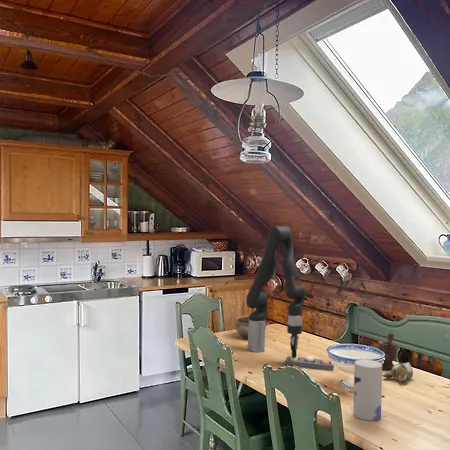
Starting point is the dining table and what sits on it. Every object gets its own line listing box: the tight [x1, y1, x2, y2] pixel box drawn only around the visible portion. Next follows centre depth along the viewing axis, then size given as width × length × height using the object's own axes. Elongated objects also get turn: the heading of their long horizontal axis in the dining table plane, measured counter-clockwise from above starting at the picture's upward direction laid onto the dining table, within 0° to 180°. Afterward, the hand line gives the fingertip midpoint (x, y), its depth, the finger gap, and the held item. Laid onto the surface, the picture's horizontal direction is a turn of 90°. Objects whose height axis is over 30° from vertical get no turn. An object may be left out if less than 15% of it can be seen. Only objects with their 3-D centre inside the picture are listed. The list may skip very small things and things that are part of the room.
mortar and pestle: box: [378, 331, 398, 371], centre depth 237 cm, size 12×9×20 cm
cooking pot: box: [231, 315, 270, 340], centre depth 296 cm, size 25×19×12 cm
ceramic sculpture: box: [382, 361, 414, 383], centre depth 222 cm, size 11×9×15 cm
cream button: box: [305, 355, 315, 363], centre depth 241 cm, size 4×4×3 cm
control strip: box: [284, 355, 335, 372], centre depth 241 cm, size 24×9×2 cm, turn 74°
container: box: [353, 359, 383, 422], centre depth 179 cm, size 10×10×20 cm
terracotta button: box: [321, 359, 330, 364], centre depth 238 cm, size 4×4×3 cm
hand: (294, 357), depth 243 cm, fingers closed
